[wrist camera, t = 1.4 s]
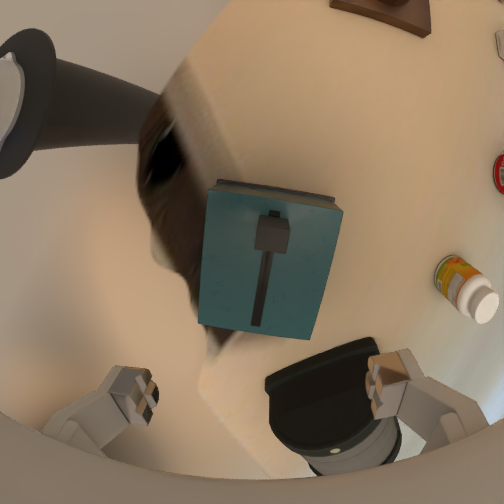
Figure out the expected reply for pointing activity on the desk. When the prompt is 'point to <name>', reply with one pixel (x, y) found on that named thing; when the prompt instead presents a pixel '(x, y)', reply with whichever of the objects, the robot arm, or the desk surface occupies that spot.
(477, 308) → the supplement bottle
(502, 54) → the ink box
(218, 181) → the block
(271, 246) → the slider
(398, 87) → the desk surface
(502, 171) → the beverage can
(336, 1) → the control block
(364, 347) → the roll top bread box
